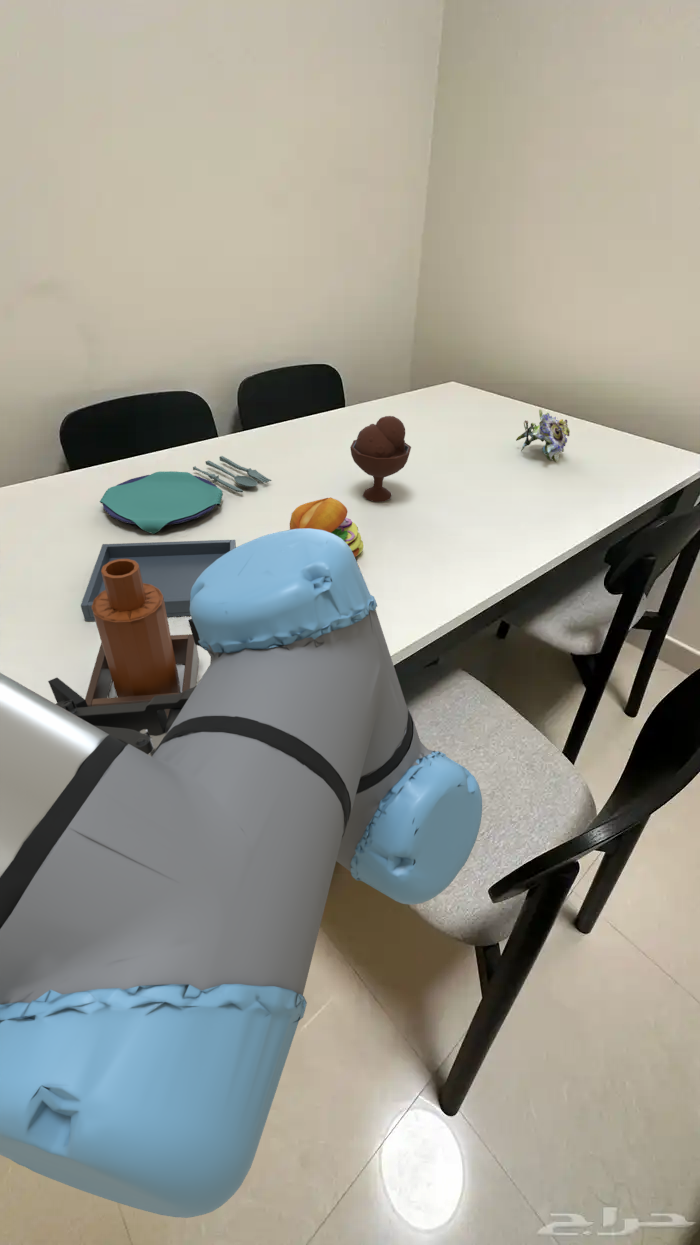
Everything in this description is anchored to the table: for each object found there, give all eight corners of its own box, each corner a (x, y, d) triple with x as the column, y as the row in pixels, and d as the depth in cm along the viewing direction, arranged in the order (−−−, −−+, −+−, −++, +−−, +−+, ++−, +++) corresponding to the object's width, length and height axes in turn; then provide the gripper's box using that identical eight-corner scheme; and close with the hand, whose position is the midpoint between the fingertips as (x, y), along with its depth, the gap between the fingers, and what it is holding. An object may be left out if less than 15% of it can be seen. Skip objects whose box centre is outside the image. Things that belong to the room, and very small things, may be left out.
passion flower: (547, 483, 131) (560, 453, 120) (503, 464, 133) (512, 433, 122) (568, 444, 133) (583, 411, 122) (524, 426, 136) (535, 392, 124)
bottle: (113, 716, 64) (75, 589, 53) (123, 674, 69) (90, 551, 59) (177, 711, 65) (152, 586, 54) (181, 670, 70) (159, 548, 60)
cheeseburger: (366, 570, 89) (353, 513, 83) (298, 582, 90) (281, 527, 84) (363, 536, 97) (352, 482, 91) (301, 547, 98) (286, 494, 92)
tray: (85, 621, 76) (80, 605, 75) (106, 558, 89) (102, 544, 87) (236, 613, 79) (234, 598, 78) (236, 553, 91) (235, 539, 90)
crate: (92, 731, 62) (83, 704, 60) (109, 664, 70) (101, 639, 68) (193, 722, 64) (189, 697, 61) (198, 658, 72) (195, 633, 69)
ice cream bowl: (387, 479, 116) (394, 403, 107) (416, 503, 108) (426, 423, 99) (339, 487, 112) (342, 408, 103) (365, 512, 104) (370, 430, 95)
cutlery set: (82, 505, 102) (79, 493, 100) (219, 459, 120) (217, 448, 118) (147, 547, 92) (144, 534, 90) (285, 490, 110) (285, 479, 108)
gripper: (107, 899, 33) (5, 762, 48) (394, 698, 48) (249, 641, 63) (61, 797, 30) (-33, 684, 45) (383, 617, 45) (233, 576, 60)
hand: (131, 659), depth 54 cm, fingers open, 13 cm apart
